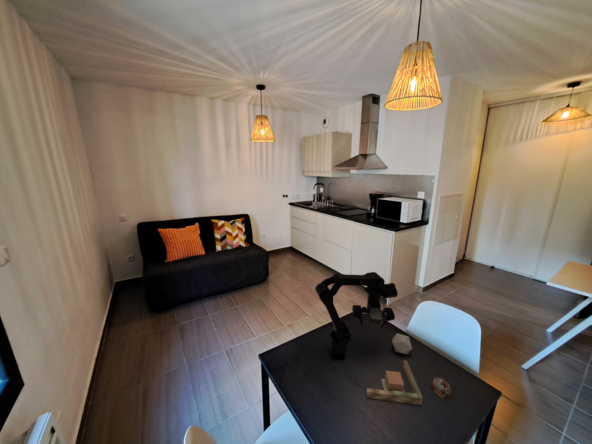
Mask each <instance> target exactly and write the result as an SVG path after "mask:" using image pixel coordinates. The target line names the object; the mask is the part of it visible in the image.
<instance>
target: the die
mask: <svg viewBox="0 0 592 444" xmlns="http://www.w3.org/2000/svg"><path fill="white" fill-rule="evenodd" d="M391 342H392V346H393V349H394V351H395V352H397V353H399V354H400V353H401V354H404V355H408V354H409V353H410V352H411V351H412V350H413V347H412V344H411V340H410V336H409V335H408V336H407V335H405V334H401V333H395V335H394V336H393V338H392V341H391Z"/></svg>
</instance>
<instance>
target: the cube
mask: <svg viewBox="0 0 592 444" xmlns="http://www.w3.org/2000/svg"><path fill="white" fill-rule="evenodd" d="M384 379H385V384H386V388H387V391H392V390H393V391H401V392H403V389H404V388H405V384H404V380H403V377H402V375H401V372H400V371H391V370H385V376H384ZM404 390H405V389H404Z"/></svg>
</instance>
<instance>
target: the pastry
mask: <svg viewBox="0 0 592 444" xmlns="http://www.w3.org/2000/svg"><path fill="white" fill-rule="evenodd" d="M430 386H431V389H432V391H433V393H434V394H435V395H436V396H438V397H439V398H441V399H451V398H452V397H453V387H452V385H451V384H450V383H449V382H448V381H447V380H445V379H444V378H442V377H439V376H438V377H433V378H431V382H430Z"/></svg>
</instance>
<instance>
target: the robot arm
mask: <svg viewBox="0 0 592 444" xmlns="http://www.w3.org/2000/svg"><path fill="white" fill-rule="evenodd" d="M385 282H386V281H385V279H384V278H383V277H382V276H381V275H379V274H378V273H377V272H376V271H371V272H366V273H364V274H345V273H344V274H341V273H335V274H333V275H332V276H330V277H327V278H325V279H323V280H322V281H321V282H319V283H317V285H316V286H315V288H314V290H315V293H316V294H317V296H318V297H319V300H320V301H321V303H322V304H323V305H324V306H325V309H326V311H327V313H328V316H329V318H330V320H331V322H332V324H333V330H332V331H331V332H330V333H329V337H330V340H331V343H330V358H331V359H334V360H335V359H336V360H345V357H346V354H347V347H348V346H349V343H350V342H351V340H352V334H351V332H350V329H349V327H348V325H347V324H346V322H345V321H344V320H343V321H342V320H341V318H340V316H339V314H338V311H337V309H336V307H335V304H334V297H335V296H336V295H337V293H339V290H340V288H341V287H343V286H346V287H347V286H348V287H350V286H353V287H354V286H355V287H356V286H357V287H360V286H362V287H363V286H365V287H364V288H363V290H364V292H366V293H367V301H366V302H367V303H366V308H362V306H361V305H360V304H357V305H356V304H353V305H352V307H351V311H352V316H353V317H355V318H357V319H358V320H359V323H360V326H361V328H362V327H363V315H368V316H369V321H370V322H371V323H372V324H380V329H383V327H384V326H385V325H386V323H387V322H391V321H394V320H395V317H396V316H395V312H394V309H393V308H392V307H386V306H385V307H383V308H381V300H382V299H381V298H383V299H385V300H387V299H391V298H397V297H398V293H399V292H398V290H397V287H396V284H395V283H393V282H390V283H385ZM331 285H332V286H331ZM329 286H331V288H329Z"/></svg>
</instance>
